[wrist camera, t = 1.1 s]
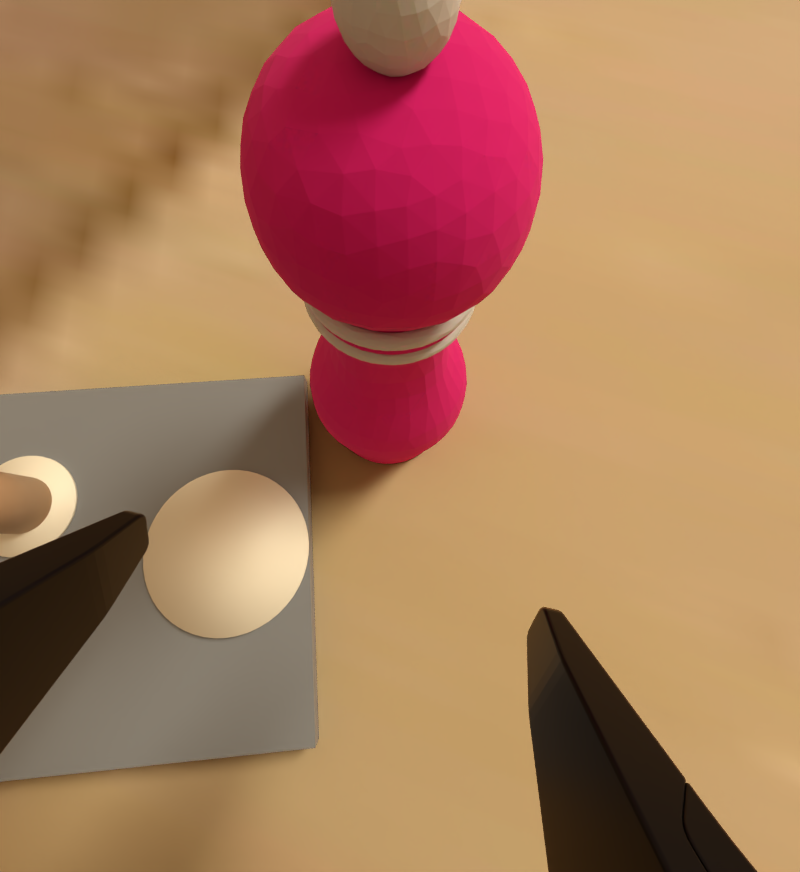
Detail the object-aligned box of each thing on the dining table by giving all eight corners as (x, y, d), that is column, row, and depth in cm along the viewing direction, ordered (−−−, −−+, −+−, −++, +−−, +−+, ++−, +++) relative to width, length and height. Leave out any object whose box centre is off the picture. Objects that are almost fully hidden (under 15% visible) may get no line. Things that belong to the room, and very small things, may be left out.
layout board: (-57, 777, 20) (-246, 879, 14) (-3, 401, 24) (-130, 356, 18) (318, 738, 20) (291, 817, 15) (307, 381, 25) (282, 332, 19)
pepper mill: (330, 481, 23) (54, 184, 4) (318, 358, 25) (79, -282, 6) (461, 463, 24) (803, 120, 4) (440, 344, 25) (618, -292, 6)
